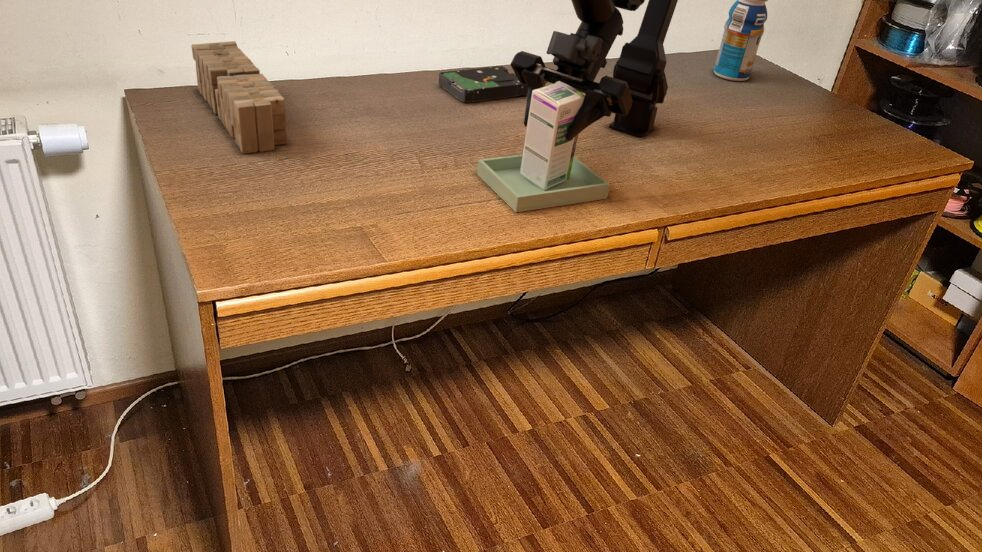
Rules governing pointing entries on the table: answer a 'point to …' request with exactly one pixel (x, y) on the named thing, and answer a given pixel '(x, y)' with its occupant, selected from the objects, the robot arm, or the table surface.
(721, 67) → the beverage bottle
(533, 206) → the tray
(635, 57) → the robot arm
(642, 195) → the table surface
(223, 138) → the table surface
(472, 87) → the disk drive
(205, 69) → the block tower
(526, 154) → the syrup box
